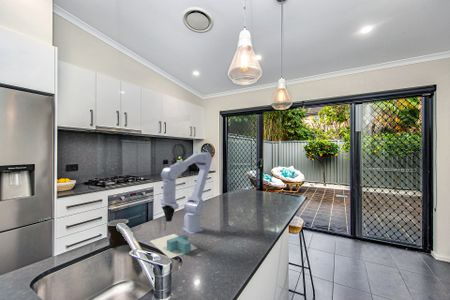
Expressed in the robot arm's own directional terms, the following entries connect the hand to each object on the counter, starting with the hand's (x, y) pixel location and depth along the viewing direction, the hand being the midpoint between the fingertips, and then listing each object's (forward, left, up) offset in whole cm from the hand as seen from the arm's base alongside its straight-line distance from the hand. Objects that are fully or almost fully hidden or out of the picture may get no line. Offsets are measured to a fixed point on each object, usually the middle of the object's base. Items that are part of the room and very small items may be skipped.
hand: (168, 221), depth 92 cm
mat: (+4, 0, -10) cm, 11 cm away
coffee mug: (-12, -19, -10) cm, 25 cm away
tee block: (+11, 0, -9) cm, 15 cm away
